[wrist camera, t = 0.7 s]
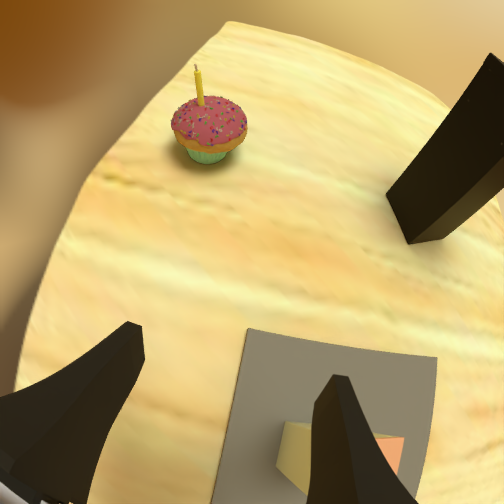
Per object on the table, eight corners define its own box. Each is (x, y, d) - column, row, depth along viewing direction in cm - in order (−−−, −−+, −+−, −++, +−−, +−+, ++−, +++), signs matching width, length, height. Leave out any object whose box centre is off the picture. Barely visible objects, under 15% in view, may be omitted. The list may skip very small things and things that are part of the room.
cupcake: (163, 167, 33) (157, 82, 22) (185, 123, 37) (188, 46, 26) (234, 182, 33) (251, 97, 23) (248, 135, 37) (265, 58, 27)
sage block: (322, 468, 21) (389, 502, 11) (275, 466, 21) (323, 509, 11) (331, 424, 23) (404, 437, 13) (285, 420, 23) (339, 439, 13)
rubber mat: (406, 517, 19) (408, 518, 18) (206, 525, 17) (206, 527, 17) (433, 358, 28) (437, 357, 27) (247, 329, 26) (248, 328, 26)
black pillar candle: (421, 193, 39) (531, 57, 14) (443, 239, 36) (577, 109, 11) (384, 194, 37) (503, 29, 12) (407, 245, 34) (562, 86, 9)
